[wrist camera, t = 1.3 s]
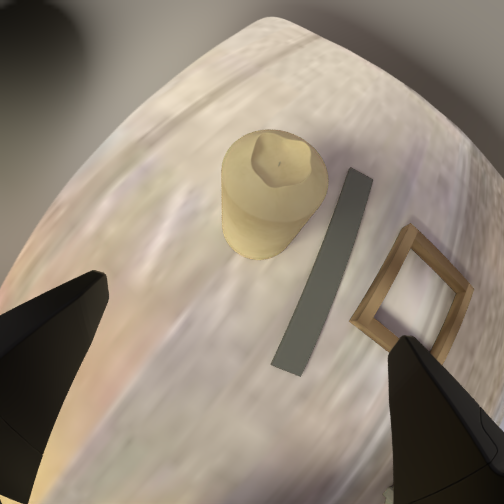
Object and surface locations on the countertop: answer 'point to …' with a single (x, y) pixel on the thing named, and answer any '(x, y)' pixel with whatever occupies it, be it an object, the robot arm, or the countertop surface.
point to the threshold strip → (324, 276)
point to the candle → (269, 191)
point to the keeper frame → (386, 277)
